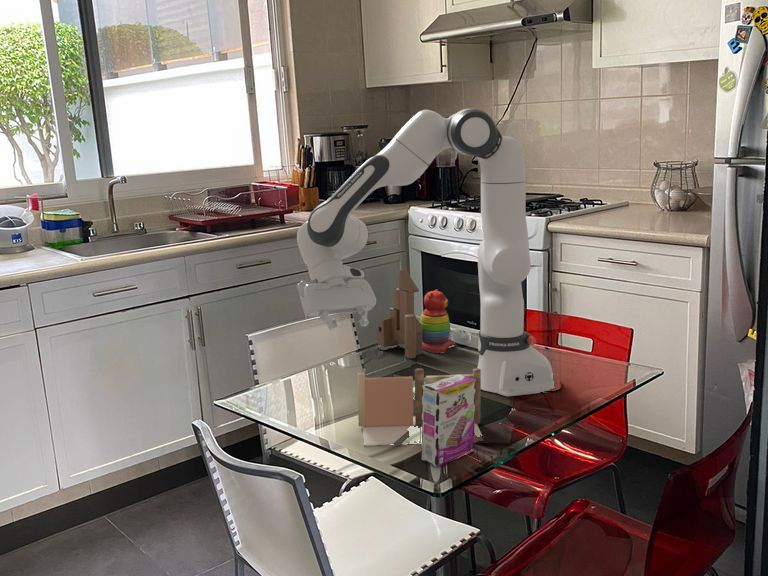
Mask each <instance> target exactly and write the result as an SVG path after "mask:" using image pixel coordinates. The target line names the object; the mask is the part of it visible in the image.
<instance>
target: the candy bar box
mask: <svg viewBox="0 0 768 576" xmlns="http://www.w3.org/2000/svg"><path fill="white" fill-rule="evenodd" d="M454 375H455V376H452V377H448V378H445V379H442V380H438V381H435V382H432V383H428V384H426V383H424V385H422V444H421V461H423V462H424V463H426V462H427V464H429V463H430V464H432V465H434V466H433V467H435V466H436V467H435V468H439V467H441V466H444V465H446V464H448V462H449V461H451V460H453V459H455V458H457V457H459V456H461V455H463V454H465V453H466V452H468V451H470V450H471V449H473V448H474V449H475V442H474V423H475V384H476V379H473V378H470V377H467V376H464V375H465V374H459V373H458V374H454ZM453 461H454V460H453ZM451 462H452V461H451ZM445 463H446V464H445ZM449 463H450V462H449ZM430 464H429V465H430ZM443 464H444V465H443ZM432 465H431V466H432ZM438 466H439V467H438Z"/></svg>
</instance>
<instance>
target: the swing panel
mask: <svg viewBox="0 0 768 576" xmlns="http://www.w3.org/2000/svg"><path fill="white" fill-rule="evenodd" d="M356 378H357V379H356V380H357V409H358V410H357V413H358V426H359V427H362V428H363V427H364V426H380V425H406V424H413V417H414V378H413V375H409V376H387V377H386V376H385V377H381V376H379V377H366V373H365V372H357V375H356Z"/></svg>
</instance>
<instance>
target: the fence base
mask: <svg viewBox="0 0 768 576" xmlns="http://www.w3.org/2000/svg"><path fill="white" fill-rule="evenodd" d="M424 373H425V370H424V368H419V367H418V368H415V369H414V416H415V425H417V426H422V385H425V384H428V383H432V382H435V381H438V380H442V379H445V378H448V377H452V376H455V375H456V374H445V375H444V374H443V375H424ZM463 375H464V376H467V377H470V378H473V379H476V384H475V424H477V425H479V424H481V393H482V392H481V391H482V389H481V369H478V367H477V368H472V373H471V374H463ZM424 379H425V380H424ZM424 382H425V383H424Z"/></svg>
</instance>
